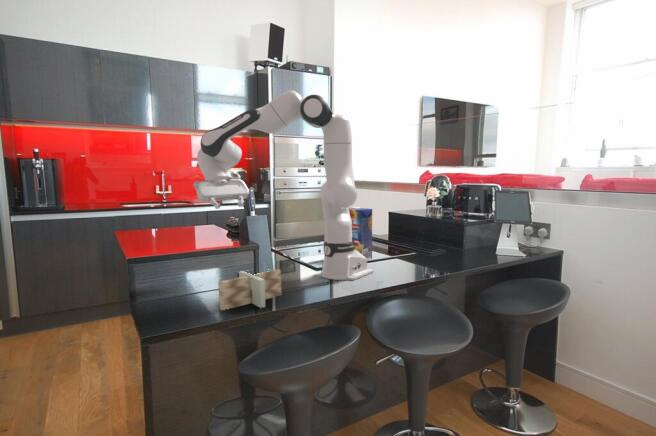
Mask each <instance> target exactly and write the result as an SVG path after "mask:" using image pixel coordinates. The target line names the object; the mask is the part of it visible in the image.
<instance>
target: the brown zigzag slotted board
mask: <svg viewBox="0 0 656 436" xmlns="http://www.w3.org/2000/svg"><path fill="white" fill-rule="evenodd" d="M281 272H282V270H281V269H280V268H277V269H273V270H270V271H267V272H262V273H257V274H254V275H255V276H257V277H259V278H262V279H264V280H265V300H268V299H272V298H275V297H279V296H282V273H281ZM218 294H219V310H220V309H221V310H220V311H222V310H224V311H226V310H225V309H227V310H230V308H231V309H234V308H238V307H242V306H245V305H249V304H253V302H252V290H250V289H249V286H248V277H247V276H243V277H235V278H230V279H226V280H221V281H218Z"/></svg>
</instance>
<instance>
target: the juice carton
mask: <svg viewBox="0 0 656 436" xmlns="http://www.w3.org/2000/svg"><path fill="white" fill-rule="evenodd" d="M349 213H350V218H351V221H352V241H353V242H354V241H359V242H360V245H359V246H355V250H357V251H358V252H359V253H360V254H362V255H363V256H364V257H365V258H366V260H367V259H368V260H372V259H373V208H367V207H357V206H356V207H355V206H353V207H349ZM368 260H367V261H368Z"/></svg>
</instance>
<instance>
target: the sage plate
mask: <svg viewBox="0 0 656 436" xmlns="http://www.w3.org/2000/svg"><path fill="white" fill-rule="evenodd" d="M245 271H246V270H245ZM245 271H244V270H240V271H238V272H239V275H238V276H239V277H243V276H247V277H248V286H249V289H250V290H252V302H253V303H252V304H253V305H254V306H256V307H258V308H260V309H263V308H266V299H265V280H264V279H262V278H259V277H257V276H255V275H252V274H250V273H247V272H245ZM239 277H238V278H239ZM262 307H263V308H262Z"/></svg>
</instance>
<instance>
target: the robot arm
mask: <svg viewBox="0 0 656 436" xmlns="http://www.w3.org/2000/svg"><path fill="white" fill-rule="evenodd" d="M298 119H302V120H303V121H304V122H305V123H306V124H308V125H309V126H311V127H313V128H316V129H318V128H319V129H321V131H322V133H323V166H324V170H325V171H324V172H325V177H326V181H325V182H324V184H323V185H322V186H321V188H320V196H321V206H322V208H321V209H322V214H323V221H324V222H323V223H324V228H323V229H324V241H323V254H324V255H323V264H322V270H321V273H320V276H321V277H322V278H324V279H329V280H338V281H339V280H346V281H348V280H350V281H355V280H357V279H359V278H363V277H365V276H367V275H369V274H372V273H373V272H374V269H372V268H371V267H370V266H368V260H366V258H365V257H364V256H363V255H362V254H360V253H359V252H358V251H357V250H355V246H359V245H360V242H359V241H354V242H353V241H352V221H351V218H350V213H349V208H351V206H353V205H354V204H355V202H356V201H357V198H358V190H357V188H356V185H355V184H356V183H355V177H354V170H353V159H352V158H353V155H352V154H353V149H352V148H353V144H352V142H353V141H352V140H353V138H352V129H351V123H350V120H349V118H348V117H346V116H345V115H343V114H335V113H333V111H332V109H331V106H330V104H329V102H328V101H327V100H326V99H325V98H324V97H323V96H321V95H319V94H310V95H307V96H306V97H304V98H303V97H302V96H301V95H300V93H299V92H297V91H295V90H293V89H292V90H288V91H286V92H284V93H281V94H280V95H278V96H277V97H275V98H273V99H272V100H271V101H270V102H268V103H267V104H265V105H263V106H261V107H258V108H253V109H248V110H245V111H244V112H242V113H240V114H238V115H237V116H235V117H234V118H232V119H230V120H228V121H226V122H224V123H223V124H221V125H220V126H217V127H215V128H212V129H210V130H207V131H206V132H205V133H203V135H202V136H201V138H200V149H199V150H198V152H197V156H196V160H197V164H198V167H199V169H200V171H201V174H203V178H204V180H197V181H194V182H193V187H194V189H195V191H196V195H197V198H198V201H199V202H201V203H203V202H204V203H205V202H209V203H210V204H211V205H212V206H214V207H215V210H219V209H221V207H222V206H221V203H220V201H221V202H222V201H232V200H234V201H235V200H236V201H237V207H238V208H242V207H244V200H245V199H247V198H248V197H249V194H250V189H249V188H248V186H247V184H246V183H245V181H244V180H242V178H241V175H240V174H239V173H236V172H235V173H234V172H231V171H230V170H231V169H232V168H234V167H235V166H237V165H238V164H239V163H240V162H241V160H242V157H243V150H242V148H241V147H240V146H239V145H237V144H236V143H234V141H232V140H231V139H233V138H235V137H236V136H238V135H240V134H242V133H243V132H245V131H247V130H248V131H249V130H254V131H255V130H256V131H260V132H264V133H267V134H276V133H279V132H281V131H282V130H283V129H285V128H286V127H287V126H289V125H290V124H292V122H294V121H296V120H298ZM217 201H219V202H217Z"/></svg>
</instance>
